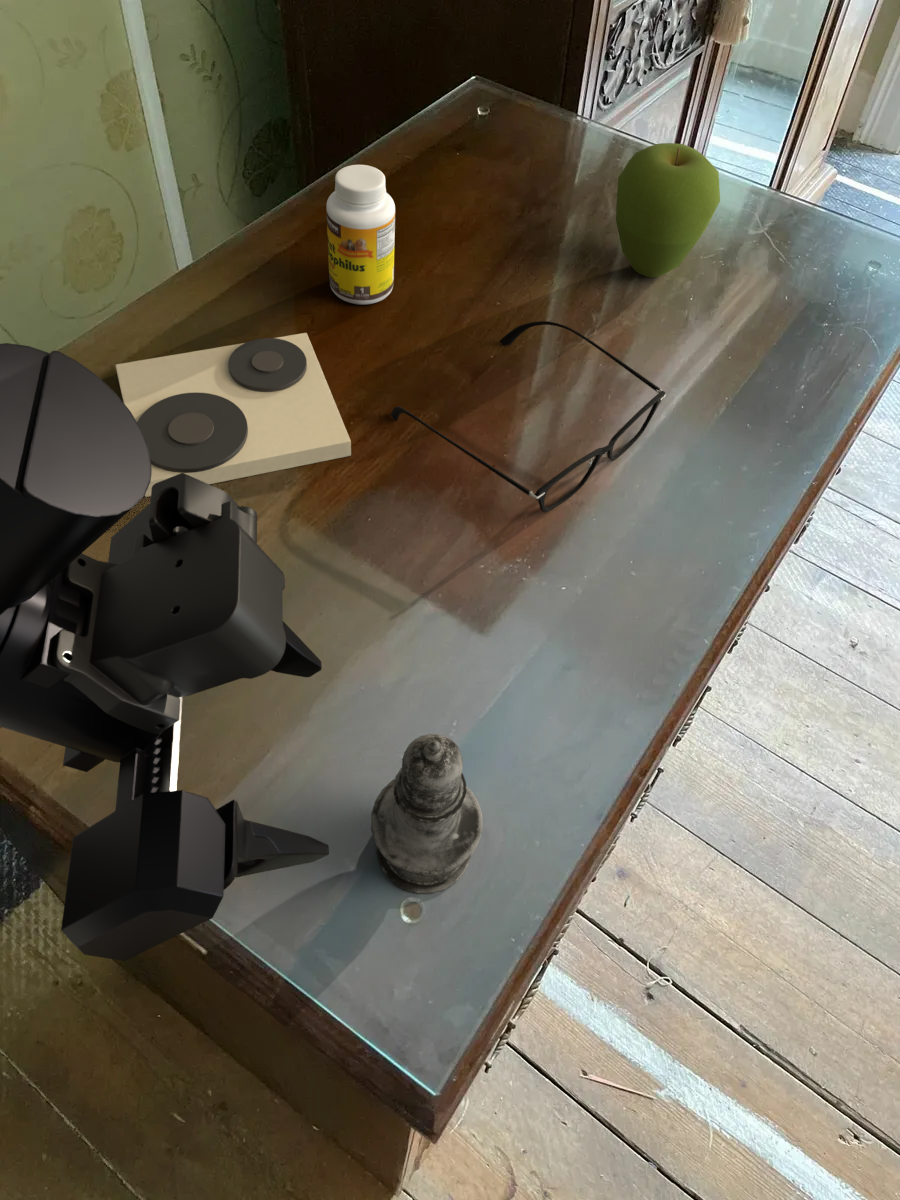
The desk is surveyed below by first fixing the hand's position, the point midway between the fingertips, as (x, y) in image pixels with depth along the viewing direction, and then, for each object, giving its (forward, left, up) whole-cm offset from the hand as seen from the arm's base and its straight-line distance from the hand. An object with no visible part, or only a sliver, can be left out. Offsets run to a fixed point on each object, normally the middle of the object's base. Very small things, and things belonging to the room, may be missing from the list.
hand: (319, 756), depth 43 cm
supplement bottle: (+16, +49, -12) cm, 53 cm away
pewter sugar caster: (+5, -1, -12) cm, 13 cm away
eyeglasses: (+23, +29, -12) cm, 39 cm away
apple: (+42, +45, -12) cm, 63 cm away
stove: (+2, +36, -12) cm, 38 cm away
